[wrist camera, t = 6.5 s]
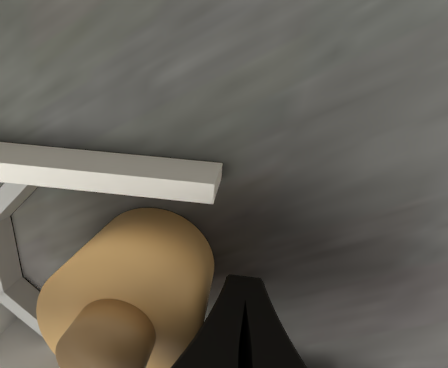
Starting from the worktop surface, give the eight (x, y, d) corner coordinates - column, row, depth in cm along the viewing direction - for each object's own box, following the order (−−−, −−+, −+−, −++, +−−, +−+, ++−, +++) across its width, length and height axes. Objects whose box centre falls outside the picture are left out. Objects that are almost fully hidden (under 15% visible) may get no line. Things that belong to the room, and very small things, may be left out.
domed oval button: (209, 317, 12) (187, 438, 8) (101, 301, 12) (22, 410, 8) (219, 216, 10) (198, 300, 6) (94, 200, 11) (-8, 270, 6)
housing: (200, 466, 16) (191, 529, 13) (34, 439, 16) (-1, 495, 14) (222, 163, 10) (214, 184, 8) (-37, 138, 10) (-117, 151, 8)
